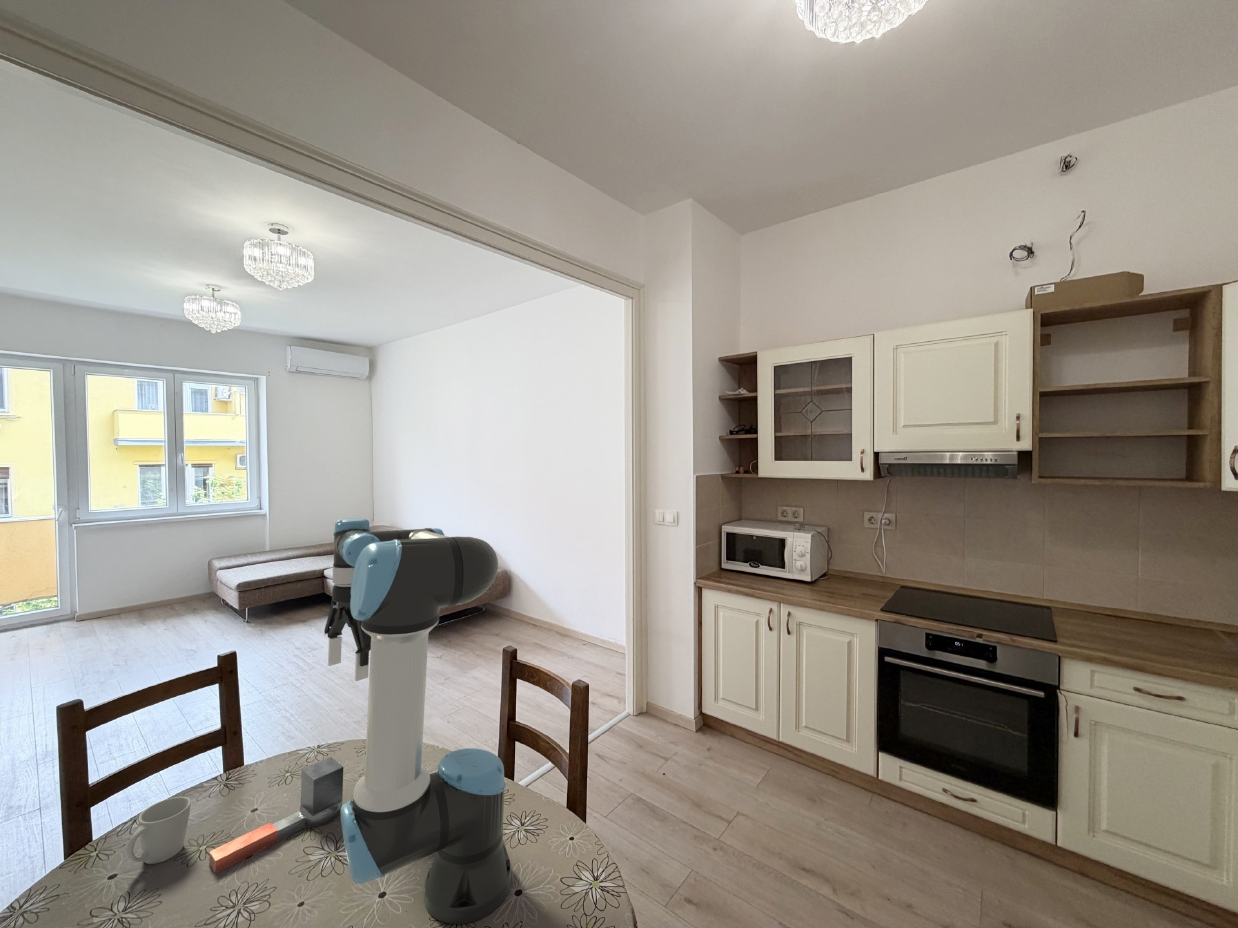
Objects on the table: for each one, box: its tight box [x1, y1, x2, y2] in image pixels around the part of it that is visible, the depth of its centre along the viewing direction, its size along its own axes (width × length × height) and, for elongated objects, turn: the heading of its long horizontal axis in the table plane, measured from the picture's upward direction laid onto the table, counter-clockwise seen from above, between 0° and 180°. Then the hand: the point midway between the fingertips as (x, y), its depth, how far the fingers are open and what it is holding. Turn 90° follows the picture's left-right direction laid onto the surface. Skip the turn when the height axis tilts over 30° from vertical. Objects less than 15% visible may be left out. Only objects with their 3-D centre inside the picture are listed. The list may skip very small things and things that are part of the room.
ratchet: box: [208, 801, 343, 875], centre depth 102 cm, size 23×8×8 cm, turn 144°
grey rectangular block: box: [300, 756, 344, 816], centre depth 108 cm, size 6×6×8 cm
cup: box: [126, 796, 192, 865], centre depth 95 cm, size 8×10×8 cm
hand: (347, 671), depth 119 cm, fingers open, 13 cm apart
